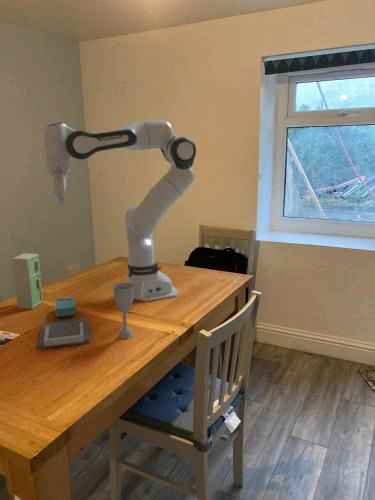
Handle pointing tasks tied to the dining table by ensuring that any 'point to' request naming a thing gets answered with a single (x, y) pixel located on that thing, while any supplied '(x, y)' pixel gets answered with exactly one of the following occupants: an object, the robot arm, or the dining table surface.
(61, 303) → the teal handled box
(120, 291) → the chalice
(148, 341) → the dining table surface
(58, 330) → the loading dock
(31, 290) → the toy refrigerator
